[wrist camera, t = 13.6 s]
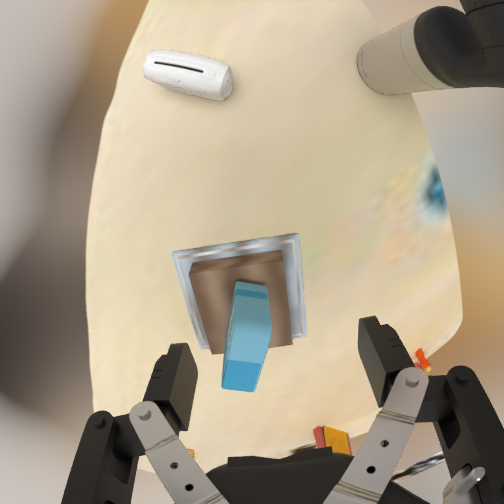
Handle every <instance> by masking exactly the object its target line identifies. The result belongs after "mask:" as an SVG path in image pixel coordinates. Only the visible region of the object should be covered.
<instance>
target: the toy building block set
mask: <svg viewBox="0 0 504 504" xmlns="http://www.w3.org/2000/svg"><path fill="white" fill-rule="evenodd" d="M416 354H417V358H418V360H419V361H420V362H421V365H418V364H417V363H416V362H415V363H414V365H415V367H416V368H419V369H422V370H423V371H424V370H426V371H427V372H429V371H430V370H431V367H430V363H428V361H427V360H426V359H425V357H424V354H423V351H422V348H421V349H418V350H417V351H416ZM423 368H424V369H423ZM425 368H426V369H425ZM426 371H424V372H426ZM427 372H426V374H427V375H430V374H429V373H427ZM430 376H432V375H430ZM313 431H314V435H315V439H316V443H317V447H318V448H323V447H328V446H332V451H333V452H339V453H345V454H349V455H352V452H351V446H350V442H349V437H348V433H346V432H343V431H339V430H336V429H333V428H330V427H327V426H324V428H322V427H319V426H318V427H317V428H315V429H314V430H313Z"/></svg>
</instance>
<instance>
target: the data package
mask: <svg viewBox="0 0 504 504" xmlns="http://www.w3.org/2000/svg"><path fill="white" fill-rule="evenodd" d="M271 333H272V323H271V315H270V307H269V298H268V290H267V286H265V285H259V284H253V283H246V282H240V281H237V282H236V284H235V289H234V294H233V299H232V305H231V310H230V316H229V321H228V326H227V332H226V338H225V348H224V360H223V373H222V388H223V389H229V390H238V391H246V392H254V391H255V389H256V386H257V383H258V379H259V376H260V373H261V370H262V366H263V363H264V360H265V357H266V353H267V350H268V346H269V343H270V339H271Z"/></svg>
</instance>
